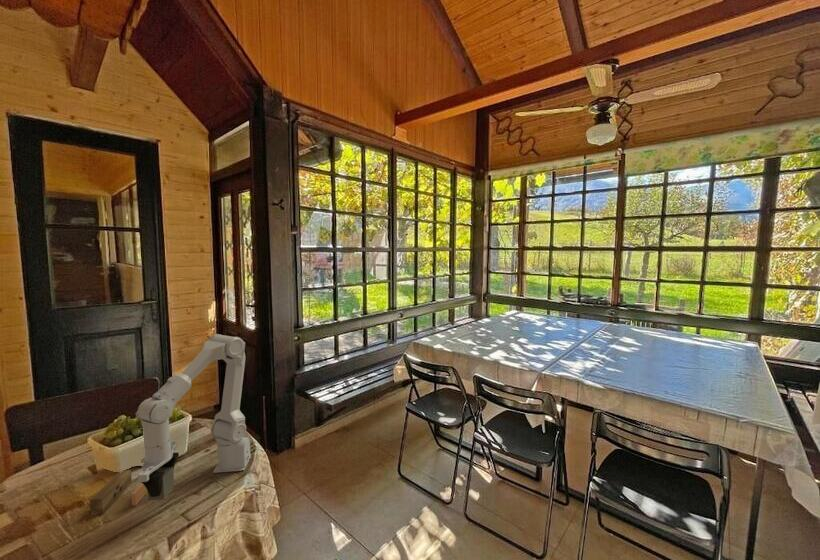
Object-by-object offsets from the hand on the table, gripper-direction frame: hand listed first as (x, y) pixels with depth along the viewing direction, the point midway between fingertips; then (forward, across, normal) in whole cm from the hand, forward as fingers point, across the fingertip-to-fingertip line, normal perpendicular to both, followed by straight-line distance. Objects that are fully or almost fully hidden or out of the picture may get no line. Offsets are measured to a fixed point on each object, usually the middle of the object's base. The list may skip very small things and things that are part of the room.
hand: (161, 488), depth 96 cm
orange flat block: (+7, -7, -9) cm, 13 cm away
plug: (+2, 0, 0) cm, 2 cm away
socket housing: (+7, -7, -17) cm, 20 cm away
